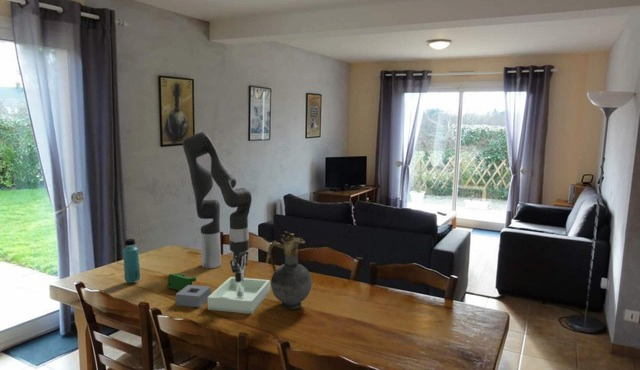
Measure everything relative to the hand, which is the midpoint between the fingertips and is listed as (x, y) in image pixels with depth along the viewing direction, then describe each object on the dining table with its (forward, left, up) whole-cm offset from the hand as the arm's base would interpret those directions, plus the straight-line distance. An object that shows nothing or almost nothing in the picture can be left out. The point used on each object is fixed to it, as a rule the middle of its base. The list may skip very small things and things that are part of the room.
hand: (240, 279), depth 174 cm
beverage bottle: (-7, -54, -9) cm, 55 cm away
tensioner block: (+5, -18, -9) cm, 20 cm away
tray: (0, 0, -9) cm, 9 cm away
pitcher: (0, +20, -9) cm, 22 cm away
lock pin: (0, 0, -7) cm, 7 cm away
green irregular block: (-7, -29, -9) cm, 32 cm away
